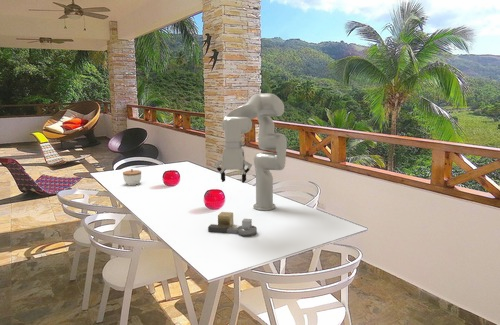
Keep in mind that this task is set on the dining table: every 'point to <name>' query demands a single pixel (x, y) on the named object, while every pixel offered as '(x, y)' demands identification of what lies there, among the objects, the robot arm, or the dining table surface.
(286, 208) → the dining table surface
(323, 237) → the dining table surface
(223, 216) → the brushed gold cube
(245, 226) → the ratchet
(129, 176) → the lidded bowl
